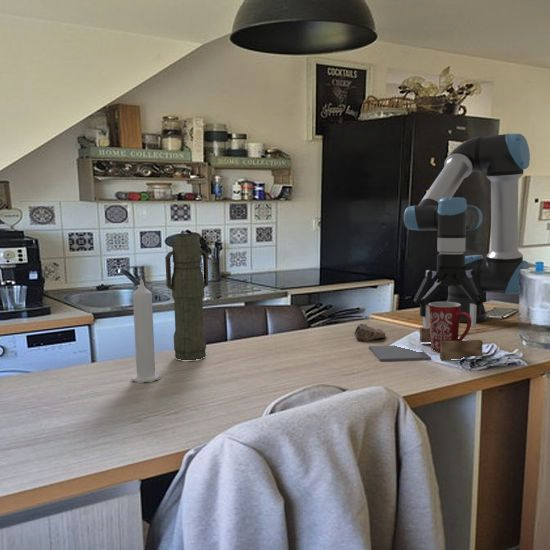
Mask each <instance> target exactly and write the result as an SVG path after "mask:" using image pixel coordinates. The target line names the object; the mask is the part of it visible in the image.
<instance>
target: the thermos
mask: <svg viewBox="0 0 550 550" xmlns="http://www.w3.org/2000/svg"><path fill="white" fill-rule="evenodd" d="M171 246H172V251H169V252H168V253H167V254H166V255H165V280H166V282H165V283H166V285H165V286H166V288H167V289H169V290H171V297H172V299H173V305H174V328H175V331H174V333H173V350H174V354H175V355H174V358H175V357H176V358H177V359H181V360H196V359H201V358H203V357H205V356H206V357H207V355H206V353H207V352H206V349H207V338H206V337H207V334H206V332H205V329H204V328H205V327H204V305H203V304H204V303H203V302H204V301H203V299H204V296H205V288H206V287H208V286H209V255H208V253H207V252H206V250H204V249H201V244H200V240H199V237H198V235H197V234H195V233H177V234H176V235H174V238H173V242H172V245H171ZM201 255H202V258H201ZM171 257H172V263H173V272H172V268H171V266H172V264H171ZM202 261H203V262H202ZM201 262H202V266H201ZM202 267H203V269H202ZM202 270H203V272H202ZM206 357H205V358H206Z"/></svg>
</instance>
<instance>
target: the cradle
mask: <svg viewBox="0 0 550 550" xmlns="http://www.w3.org/2000/svg"><path fill="white" fill-rule="evenodd" d="M420 341H421V342H431V333H430V326H429V329H425V328H424V327H423V326H422V327H420V328H419V342H420ZM483 342H484V341H482V340H481V339H469V340H467V339H466V340H464V339H463V340H462V341H440V352H439V360H440V359H441V360H440V361H442V362H443V360H451V359H461V358H463V357H470V356H482V357H483V345H484V344H483ZM451 361H452V360H451Z"/></svg>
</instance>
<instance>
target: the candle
mask: <svg viewBox="0 0 550 550" xmlns="http://www.w3.org/2000/svg"><path fill="white" fill-rule="evenodd" d="M132 308H133V325H134V328H133V329H134V343H135V344H134V345H135V348H134V349H135V364H136V365H135V366H136V373H135V374H133V375H132V376H131V381H132V380H133V381H135V382H141V383H140V384H143V383H142V382H151V383H153V382H152V381H155V380H158V379H159V380H161V378H162V374H160V373H159V372H156V361H155V360H156V359H155V356H156V355H155V338H154V337H155V335H154V334H155V333H154V317H153V316H154V314H153V313H154V312H153V294H152V291H150V290H149V289H148V288H146V287H145V284H144V280H143V279H140V281H139V285H138V287H137V289H136V290H135V291H134V292H133V293H132ZM159 380H158V381H159ZM133 381H132V382H133ZM135 382H134V383H135ZM155 382H156V381H155Z"/></svg>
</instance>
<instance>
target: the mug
mask: <svg viewBox="0 0 550 550" xmlns="http://www.w3.org/2000/svg"><path fill="white" fill-rule="evenodd" d="M427 305H428V306H429V327H430V333H431V345H430V347H431V350H432V349H433V350H435V351H438V352H437V353H440V341H463V340H464V339H465V338H466V337H467V335H468V334H469V332H470V330H471V328H472V327H471V317H470V315H469V314H468V313H466V312H460V306H461V304H459V303H454V302H447V301H433V302H428V303H427ZM462 315H464V316H465V317H466V319H467V322H466V327H465V329H464V332H463V333H462V334H461V336H459V331H460V328H459V327H460V322H459V318H460V317H461V316H462ZM433 350H432V351H433ZM435 351H434V352H435Z"/></svg>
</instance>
